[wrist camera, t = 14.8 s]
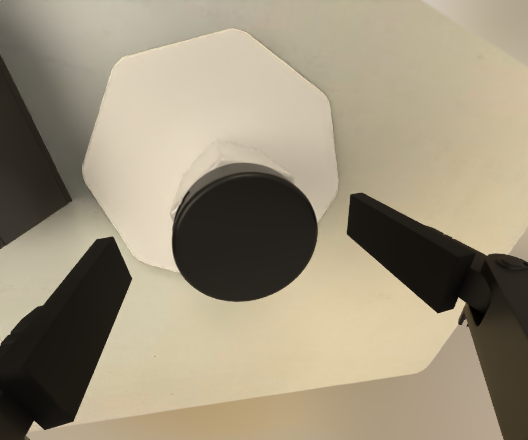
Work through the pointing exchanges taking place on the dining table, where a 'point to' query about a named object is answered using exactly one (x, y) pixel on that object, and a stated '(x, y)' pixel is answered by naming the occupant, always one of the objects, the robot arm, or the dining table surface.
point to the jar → (240, 224)
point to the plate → (201, 130)
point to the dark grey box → (23, 168)
